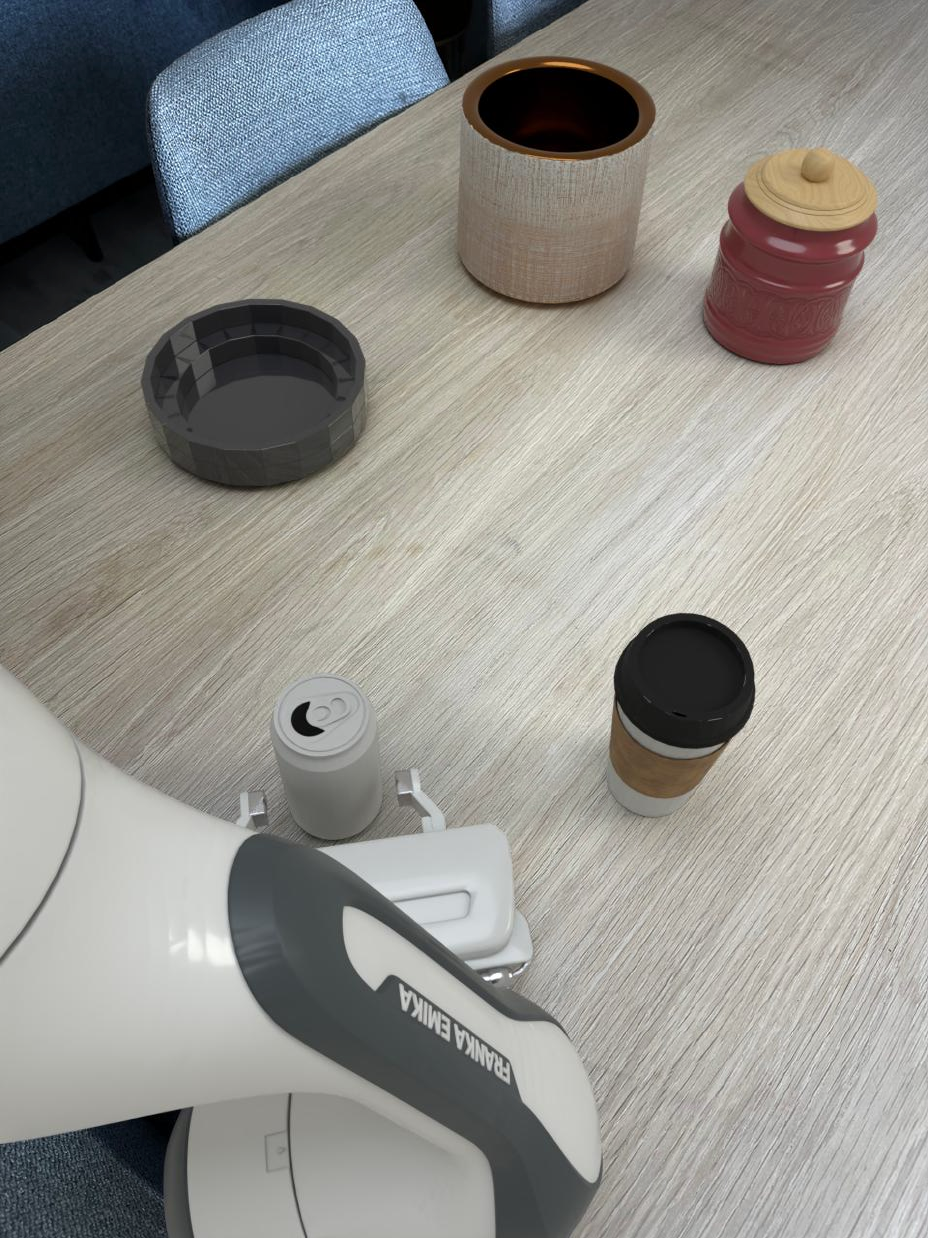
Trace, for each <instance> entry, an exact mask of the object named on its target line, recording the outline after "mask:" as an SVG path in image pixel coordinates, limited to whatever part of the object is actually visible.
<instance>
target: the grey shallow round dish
mask: <svg viewBox="0 0 928 1238" xmlns="http://www.w3.org/2000/svg"><path fill="white" fill-rule="evenodd" d="M367 378H368V375H367V361H366V358H365V355H364V352H363V350H362V348H361V345H360V343H359V340H358V338H357V337H356V336H355V335H354V334H353V333H352V332H351V331H350V330H349V328H347V326H345V325H344V324H343V323H342V322H341V320H339V319H338V318H336V317H334V316H332V315H330V314H328V313H326V312H324V311H323V310H320V309H319V308H316V307H315V306H312V305H308V304H305V303H300V302H296V301H292V300H287V299H283V298H246V299H245V298H244V299H240V300H235V301H229V302H224V303H220V304H219V303H218V304H215V305H212V306H210V307H208V308H205V309H203V310H201V311H198V312H196V313H193V314H191V315H189V316H186V317H185V318H183V319H182V320H180V321H179V322H178V323H177V324H175V325H173V326H172V327H171V328H169V329H168V330H167V331H165V332H164V333H163V334H161V336H160V337H159V339H158V340H157V342H156V343H155V344H154V345H153V347H152V348H151V349H150V351H149V352H148V354H147V355H146V357H145V361H144V365H143V370H142V373H141V378H140V385H141V390H142V394H143V399H144V402H145V407H146V410H147V413H148V417H149V420H150V423H151V426H152V429H153V432H154V436H155V439H156V441H157V442H158V444H159V445H160V446H161V448H162V449H163V450H164V451H165V453H166V454H167V455H168V456H169V458H170V459H171V460H172V461H173V462H174V463H175V464H177V465H178V466H180V467H182V468H184V469H185V470H187V471H188V472H190V473H192V474H193V475H195V476H196V477H199V478H202V479H205V480H209V481H213V482H217V483H221V484H225V485H228V486H259V487H262V486H263V487H264V486H265V487H267V486H269V487H270V486H272V485H277V484H281V483H285V482H286V483H287V482H290V481H296V480H300V479H302V478H305V477H306V476H308V475H310V474H312V473H315V472H317V471H319V470H320V469H322V468H325V467H327V466H329V465H331V464H332V463H334V462H335V461H336V460H337V459H338V458H339V457H340V456H341V455H342V454H344V453H345V452H346V451H347V450H348V449H350V447H351V446H352V445H353V444H354V443H356V441H357V439H358V436H359V435H360V432H362V429H363V427H364V425H365V423H366V421H367V419H368V403H369V402H368V401H369V390H368V388H369V387H368V379H367Z"/></svg>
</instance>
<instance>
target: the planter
mask: <svg viewBox="0 0 928 1238" xmlns="http://www.w3.org/2000/svg"><path fill="white" fill-rule="evenodd" d="M460 108H461V112H460V143H459V144H460V145H459V170H458V171H459V173H458V175H459V176H458V193H457V194H458V196H457V197H458V198H457V220H456V222H457V223H456V224H457V225H456V243H457V251H458V254H459V255H458V256H459V258H460V260H461V262H462V264H463V266H464V268H466V270H467V271H468V272H469V273H470V275H471V276H472V277H473V278H474V279H476V280H477V281H478V282H480V283H481V284H482V285H484V286H486V287H487V288H488V289H490V290H492V291H494V292H496V293H498V294H500V295H503V296H506V297H509V298H511V299H515V300H518V301H523V302H526V303H527V302H528V303H535V304H545V305H554V304H567V303H574V302H579V301H583V300H586V299H589V298H592V297H594V296H597V295H600V294H602V293H603V292H605V291H607V290H608V289H610V288H612V287H613V286H615V284H617V283H618V282H619V281H620V280H621V279H622V278H623V277H624V276H625V274H626V272H627V271H628V269H629V267H630V265H631V262H632V259H633V255H634V251H635V246H636V240H637V234H638V229H639V222H640V215H641V209H642V203H643V197H644V191H645V186H646V185H645V184H646V181H647V180H646V178H647V173H648V167H649V162H650V161H649V160H650V156H651V150H652V144H653V138H654V133H655V128H656V121H657V109H656V104H655V101H654V99H653V97H652V95H651V94H650V93H649V91H648V90H647V89H646V88H645V87H644V86H643V85H642V84H641V82H639V81H637V79H635V78H633V77H632V76H631V75H629V74H627V73H625V72H624V71H622V70H619V69H617V68H615V67H613V66H610V65H607V64H605V63H602V62H599V61H596V60H591V59H588V58H587V59H586V58H583V57H575V56H566V55H534V56H533V55H532V56H525V57H520V58H514V59H511V60H507V61H504V62H501V63H498V64H495V65H493V66H491V67H489V68H487V69H486V70H484V71H481V72H480V73H479V74H478V75H476V76H475V77H474V78H473V79H472V80H471V81H470V82H469V83H468V85H467V86H466V88H465V89H464V92H463V94H462V97H461V107H460Z"/></svg>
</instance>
